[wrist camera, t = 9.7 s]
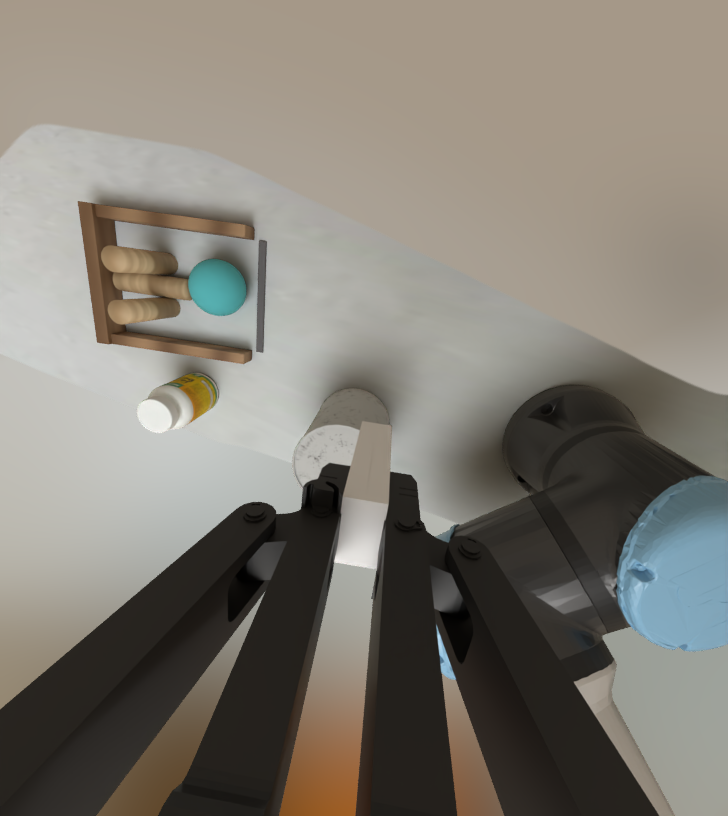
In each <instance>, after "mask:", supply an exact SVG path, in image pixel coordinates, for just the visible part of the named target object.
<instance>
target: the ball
mask: <svg viewBox="0 0 728 816" xmlns="http://www.w3.org/2000/svg"><path fill="white" fill-rule="evenodd" d="M188 288H189V292H190V295H191V297H192V299H193V301H194V302H195V303H196V304H197V305H198V307H200V308H201V309H202V310H204V311H205V312H207V313H209V314H212V315H217V316H225V315H229V314H232V313H234V312H236V311H237V310H238V309H239V308H240V307H241V306H242V305H243V303H244V301H245V298H246V284H245V281H244V278H243V276H242V275H241V273H240V272H239V271H238V270H237V269H236V268H235V267H234V266H233V265H231V264H230V263H228V262H226V261H223V260H219V259H208V260H205V261H202V262H200V263H198V264H197V265H196V266H195V267H194V268H193V270H192V271H191V273H190V276H189V280H188Z"/></svg>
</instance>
